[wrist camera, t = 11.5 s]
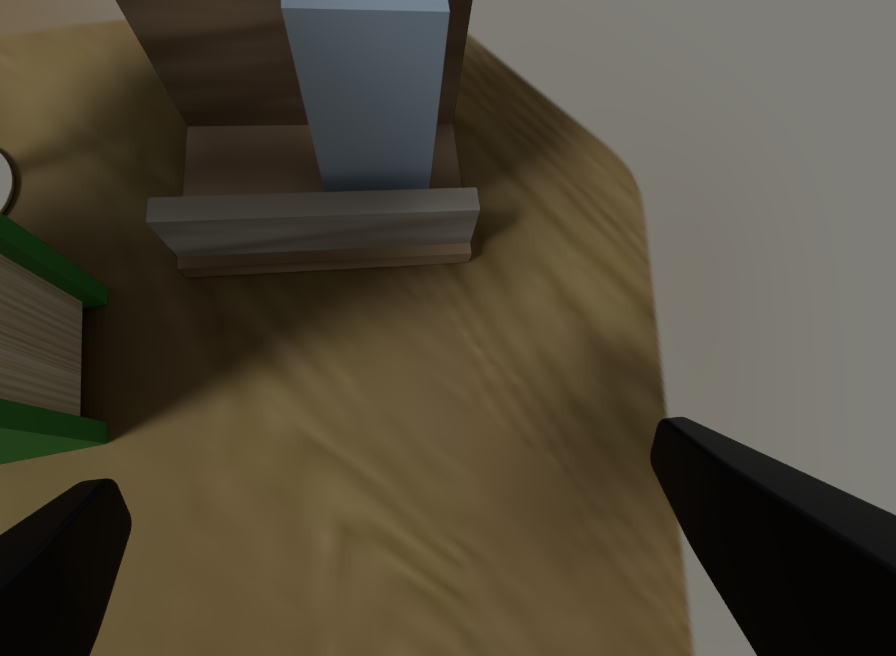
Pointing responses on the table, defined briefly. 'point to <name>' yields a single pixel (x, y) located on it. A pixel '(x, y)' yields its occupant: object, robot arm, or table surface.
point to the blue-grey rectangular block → (370, 87)
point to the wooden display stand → (284, 154)
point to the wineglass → (6, 183)
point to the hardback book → (42, 348)
